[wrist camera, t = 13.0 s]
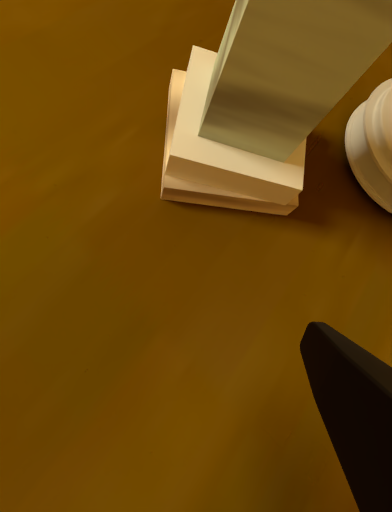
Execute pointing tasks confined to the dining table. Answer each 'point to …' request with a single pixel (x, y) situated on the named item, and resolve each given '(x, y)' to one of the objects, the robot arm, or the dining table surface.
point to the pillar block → (289, 69)
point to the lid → (373, 145)
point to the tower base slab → (199, 192)
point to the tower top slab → (225, 148)
